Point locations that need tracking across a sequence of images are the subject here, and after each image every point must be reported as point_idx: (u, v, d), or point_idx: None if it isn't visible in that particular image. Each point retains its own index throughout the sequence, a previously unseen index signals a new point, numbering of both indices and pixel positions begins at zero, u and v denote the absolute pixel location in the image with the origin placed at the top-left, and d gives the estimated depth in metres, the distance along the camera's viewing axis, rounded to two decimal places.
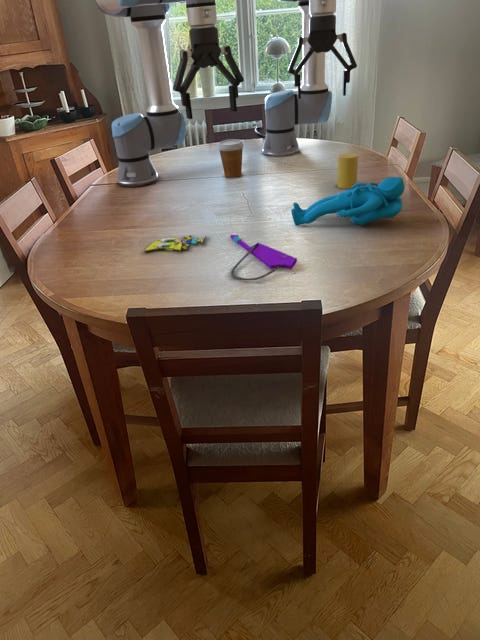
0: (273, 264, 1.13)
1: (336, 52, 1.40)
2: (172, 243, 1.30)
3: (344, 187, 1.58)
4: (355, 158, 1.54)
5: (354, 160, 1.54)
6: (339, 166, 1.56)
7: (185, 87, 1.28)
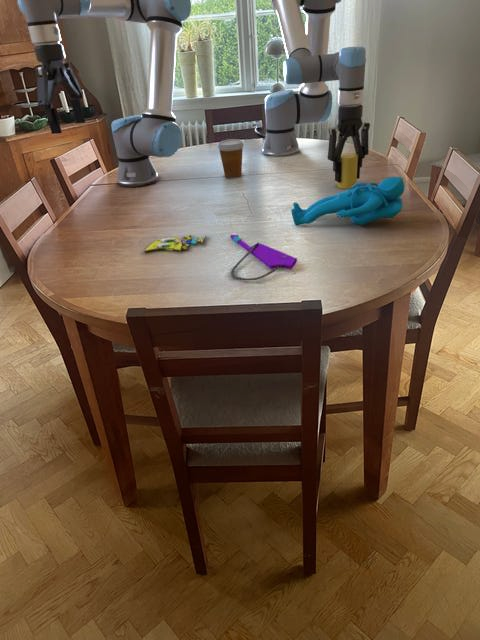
0: (273, 264, 1.13)
1: (358, 139, 1.53)
2: (172, 243, 1.30)
3: (344, 187, 1.58)
4: (355, 158, 1.54)
5: (354, 160, 1.54)
6: None
7: (51, 102, 1.29)
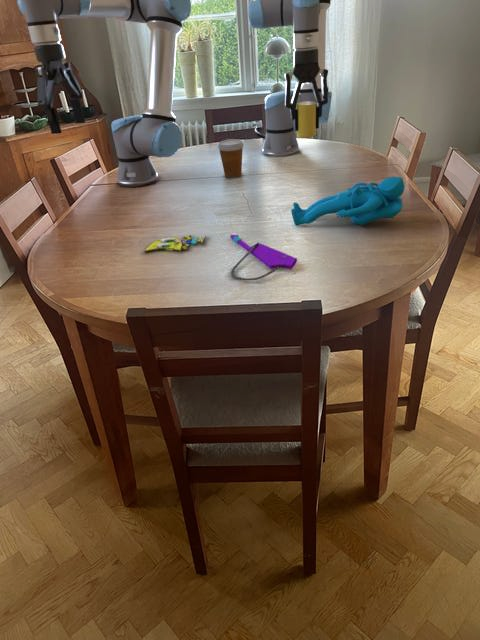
0: (273, 264, 1.13)
1: (315, 86, 1.50)
2: (172, 243, 1.30)
3: (301, 136, 1.57)
4: (311, 106, 1.52)
5: (310, 108, 1.52)
6: None
7: (51, 102, 1.29)
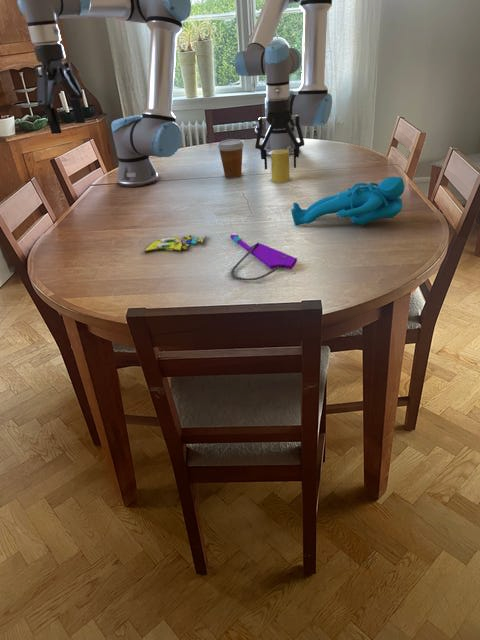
0: (273, 264, 1.13)
1: (289, 131, 1.61)
2: (172, 243, 1.30)
3: (274, 180, 1.70)
4: (282, 154, 1.64)
5: (281, 156, 1.64)
6: (271, 160, 1.68)
7: (51, 102, 1.29)
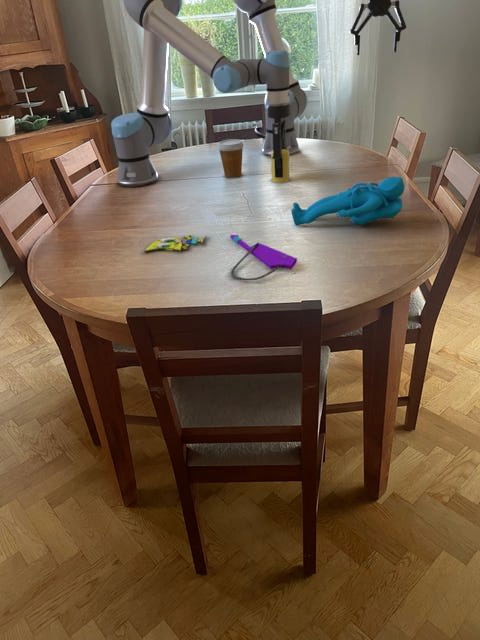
0: (273, 264, 1.13)
1: (390, 16, 1.75)
2: (172, 243, 1.30)
3: (274, 180, 1.70)
4: (282, 154, 1.64)
5: None
6: (271, 160, 1.68)
7: (281, 154, 1.62)
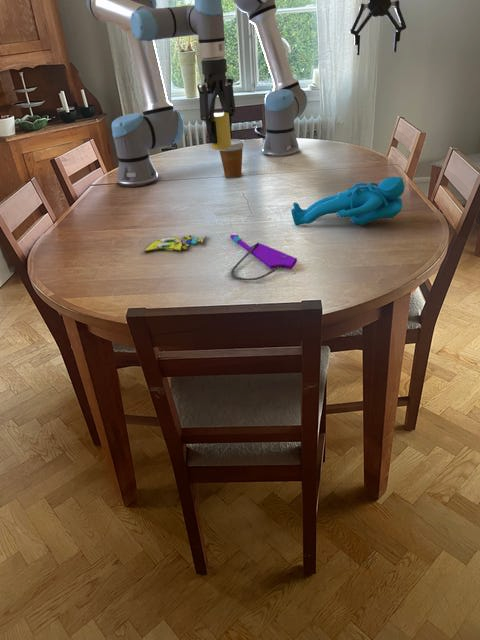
0: (273, 264, 1.13)
1: (390, 16, 1.75)
2: (172, 243, 1.30)
3: (212, 147, 1.53)
4: (216, 118, 1.46)
5: (215, 120, 1.47)
6: None
7: (211, 116, 1.45)
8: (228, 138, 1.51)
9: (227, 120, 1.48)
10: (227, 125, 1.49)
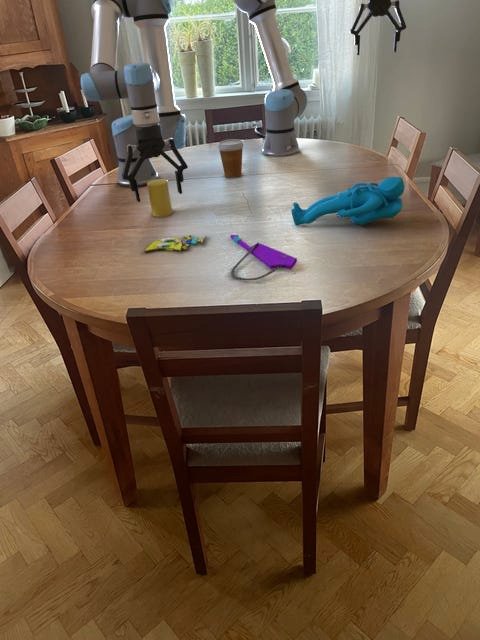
0: (273, 264, 1.13)
1: (390, 16, 1.75)
2: (172, 243, 1.30)
3: None
4: (149, 186, 1.45)
5: (148, 188, 1.46)
6: None
7: (132, 175, 1.42)
8: (163, 207, 1.48)
9: (161, 190, 1.45)
10: (161, 194, 1.46)
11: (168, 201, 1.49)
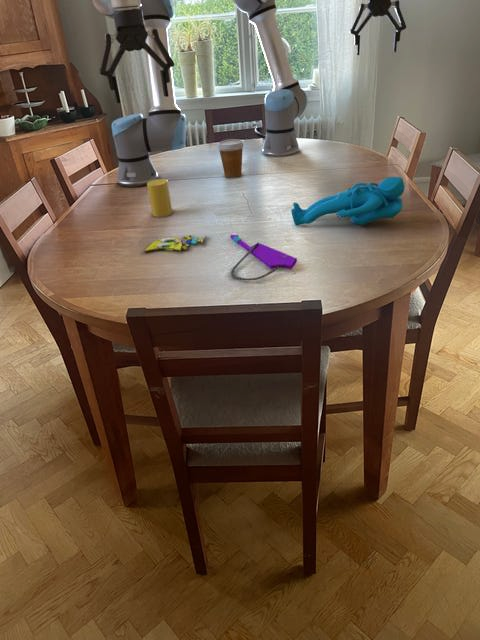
0: (273, 264, 1.13)
1: (390, 16, 1.75)
2: (172, 243, 1.30)
3: None
4: (149, 186, 1.45)
5: (148, 188, 1.46)
6: None
7: (110, 70, 1.27)
8: (163, 207, 1.48)
9: (161, 190, 1.45)
10: (161, 194, 1.46)
11: (168, 201, 1.49)
